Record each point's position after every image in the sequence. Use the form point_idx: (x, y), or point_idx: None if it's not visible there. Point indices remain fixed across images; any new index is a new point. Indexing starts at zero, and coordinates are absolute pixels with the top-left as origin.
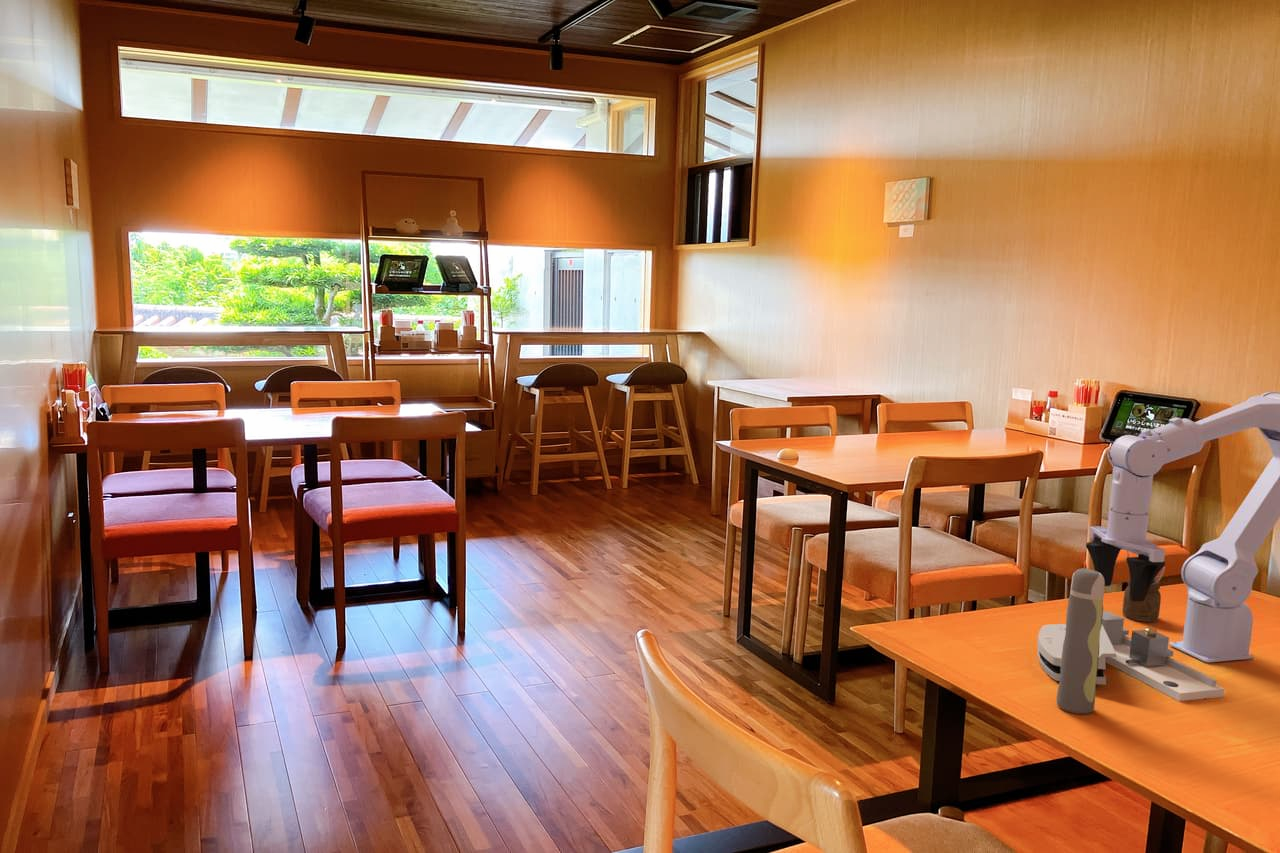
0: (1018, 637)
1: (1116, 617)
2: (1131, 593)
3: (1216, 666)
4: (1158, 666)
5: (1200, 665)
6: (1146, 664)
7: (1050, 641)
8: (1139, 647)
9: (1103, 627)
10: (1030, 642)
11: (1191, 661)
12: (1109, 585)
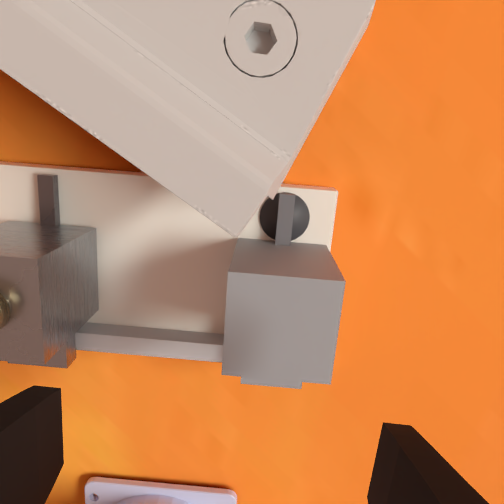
0: (494, 11)
1: (246, 355)
2: (4, 409)
3: (69, 482)
4: None
5: (83, 448)
6: (4, 222)
7: None
8: (18, 239)
9: (91, 133)
10: (426, 23)
11: (115, 449)
12: (368, 494)
